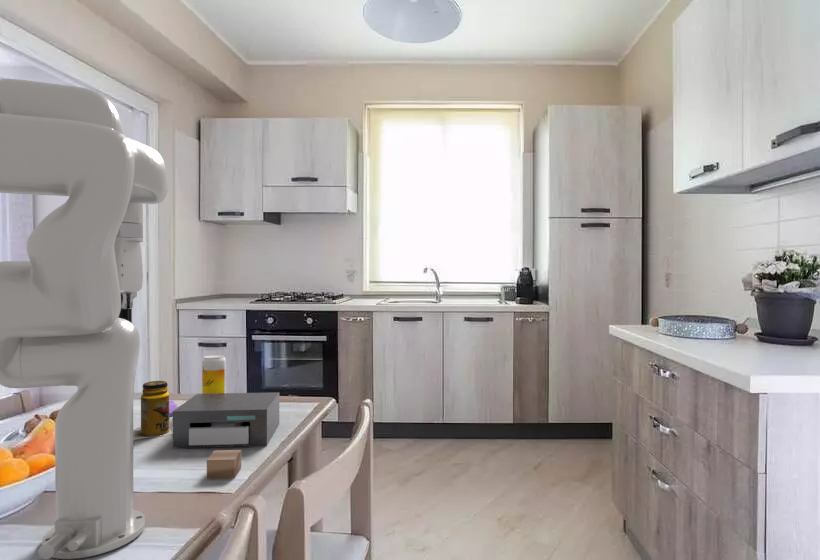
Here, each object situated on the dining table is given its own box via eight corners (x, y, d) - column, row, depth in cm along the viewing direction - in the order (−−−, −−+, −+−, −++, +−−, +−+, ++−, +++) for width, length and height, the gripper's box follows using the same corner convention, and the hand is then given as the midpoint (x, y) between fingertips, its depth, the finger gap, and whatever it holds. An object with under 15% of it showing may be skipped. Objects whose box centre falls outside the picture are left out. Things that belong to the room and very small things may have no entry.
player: (266, 445, 111) (266, 409, 111) (172, 448, 109) (172, 411, 109) (279, 424, 127) (279, 392, 127) (197, 425, 125) (197, 393, 125)
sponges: (173, 406, 145) (173, 400, 145) (181, 417, 135) (181, 410, 135) (146, 410, 141) (146, 403, 141) (152, 421, 131) (152, 414, 131)
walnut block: (234, 478, 93) (234, 459, 93) (206, 479, 93) (206, 460, 93) (241, 467, 98) (241, 449, 98) (214, 468, 98) (214, 450, 98)
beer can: (201, 409, 141) (201, 355, 140) (225, 406, 143) (224, 354, 143) (202, 414, 135) (202, 358, 135) (227, 412, 138) (226, 357, 137)
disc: (238, 433, 113) (238, 424, 113) (206, 434, 112) (206, 425, 112) (246, 423, 120) (246, 415, 120) (215, 424, 119) (215, 416, 119)
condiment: (173, 434, 119) (172, 383, 119) (132, 441, 114) (131, 388, 114) (168, 426, 125) (168, 378, 125) (129, 432, 120) (129, 382, 120)
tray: (248, 443, 109) (248, 427, 109) (188, 445, 108) (188, 429, 108) (262, 422, 125) (262, 408, 125) (211, 423, 124) (211, 409, 124)
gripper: (119, 236, 103) (119, 325, 104) (77, 230, 88) (78, 334, 89) (157, 236, 104) (157, 325, 104) (122, 230, 89) (122, 334, 89)
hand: (121, 329), depth 96 cm, fingers closed
